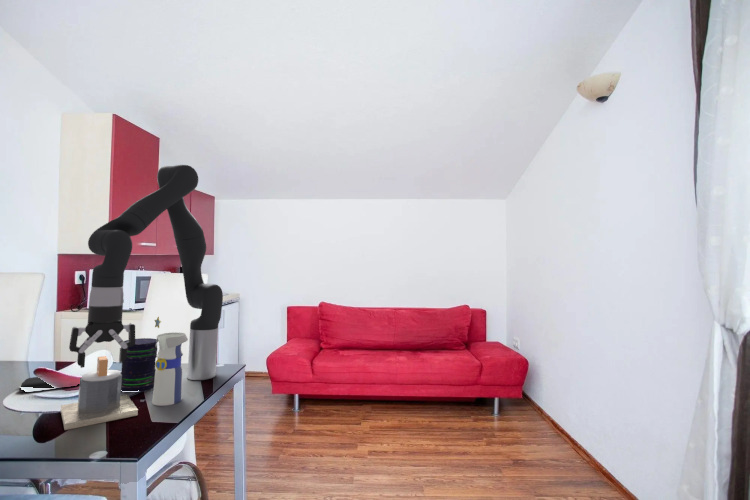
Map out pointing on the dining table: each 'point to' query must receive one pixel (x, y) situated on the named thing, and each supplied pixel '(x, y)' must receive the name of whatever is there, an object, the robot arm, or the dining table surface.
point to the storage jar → (139, 366)
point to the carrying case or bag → (35, 383)
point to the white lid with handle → (101, 372)
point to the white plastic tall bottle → (168, 368)
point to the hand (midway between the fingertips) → (102, 364)
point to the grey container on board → (98, 404)
